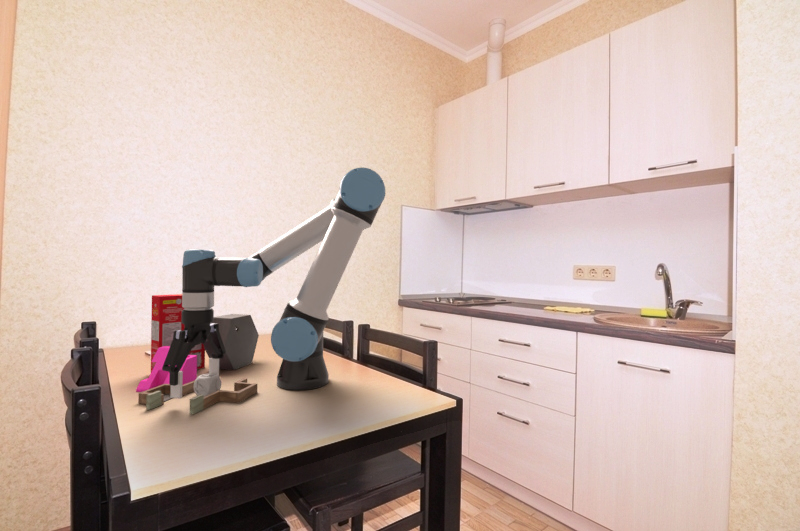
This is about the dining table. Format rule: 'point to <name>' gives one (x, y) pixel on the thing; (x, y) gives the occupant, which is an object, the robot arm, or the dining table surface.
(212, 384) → the die
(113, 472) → the dining table surface
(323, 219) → the robot arm
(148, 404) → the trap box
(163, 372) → the bracket
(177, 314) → the food packaging
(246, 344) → the planter
